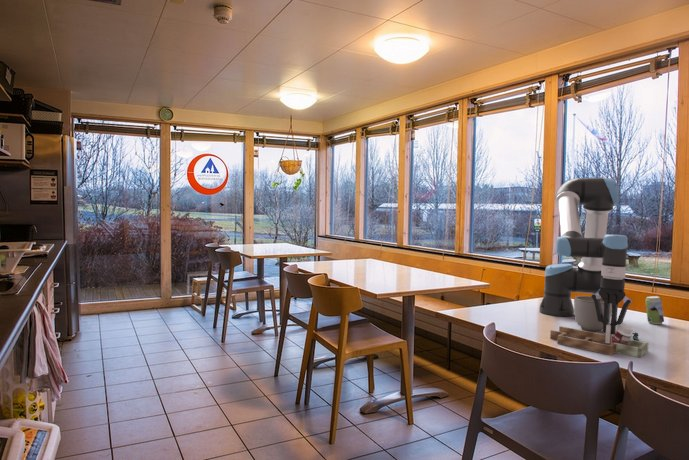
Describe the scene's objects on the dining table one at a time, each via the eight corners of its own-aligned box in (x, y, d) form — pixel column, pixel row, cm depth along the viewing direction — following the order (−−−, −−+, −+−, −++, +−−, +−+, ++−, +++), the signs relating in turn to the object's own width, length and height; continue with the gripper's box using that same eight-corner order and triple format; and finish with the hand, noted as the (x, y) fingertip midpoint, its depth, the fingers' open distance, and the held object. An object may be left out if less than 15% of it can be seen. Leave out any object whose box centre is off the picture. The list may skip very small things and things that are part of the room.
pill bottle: (607, 341, 171) (617, 321, 168) (620, 344, 171) (630, 324, 168) (613, 348, 166) (623, 328, 163) (626, 351, 166) (637, 331, 163)
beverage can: (666, 325, 204) (668, 298, 204) (647, 324, 206) (649, 297, 205) (659, 322, 210) (661, 295, 210) (641, 321, 212) (643, 294, 211)
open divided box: (545, 340, 176) (545, 332, 176) (559, 333, 187) (560, 326, 187) (637, 360, 156) (637, 351, 155) (647, 351, 166) (648, 342, 166)
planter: (565, 327, 197) (566, 296, 196) (588, 324, 202) (590, 295, 202) (594, 336, 184) (596, 303, 184) (618, 333, 190) (620, 301, 189)
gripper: (590, 276, 171) (585, 340, 172) (630, 281, 162) (625, 348, 163) (596, 274, 176) (592, 336, 177) (636, 279, 167) (631, 344, 168)
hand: (608, 342), depth 170 cm, fingers closed
